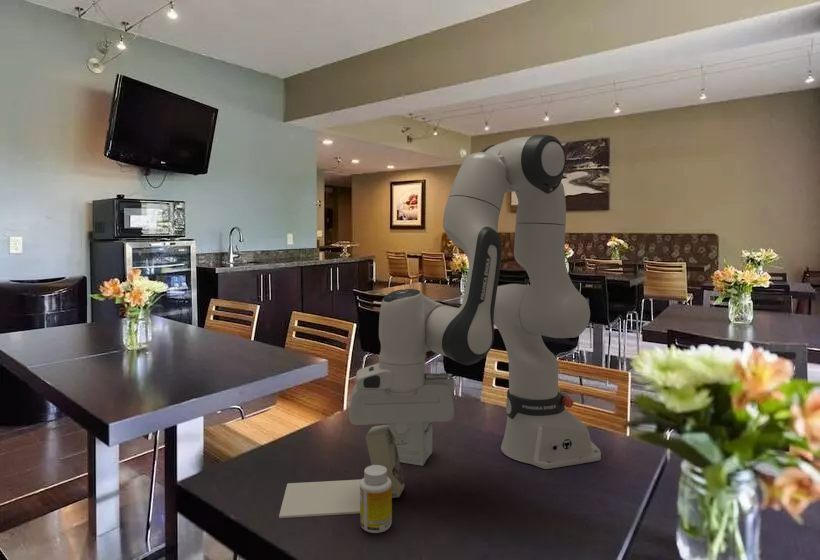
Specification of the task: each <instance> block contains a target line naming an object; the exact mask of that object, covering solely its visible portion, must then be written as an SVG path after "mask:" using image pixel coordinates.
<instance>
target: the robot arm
mask: <svg viewBox="0 0 820 560" xmlns="http://www.w3.org/2000/svg"><path fill="white" fill-rule="evenodd" d="M566 166H567V154H566V151H565V148H564V146H563V144H562V143H561V141H560V140H559V139H558V138H557V137H556V136H554V135H549V134H534V135H531V136H522V137H516V138H515V137H514V138H511V139H509V140H507V141H503V142H500V143H498V144H491V145H488V146H487V147H485V148H483V149H482V150H481V151H478V152H473V153H471V154H469V155H468V156H467V157H465V159H464V160H463V162H462V163H461V165H460V167H459V170H458V171H457V174H456V176H455V178H454V180H453V183H452V186H451V189H450V191H449V194H448V197H447V201H446V204H445V207H444V212H443V219H442V227H443V230H444V233H445V234H446V236H447V237H448V239H449V240H450V241H451V242H452V244H454V245H455V246H457V247H458V248H459V249H461V250H462V251H463V252H464V253H465V256H466V257H467V260H468V270H467V276H466V282H465V289H464V294H463V300H462V303H461V305H460V306H459V307H455V306H451V305H447V304H443V303H440V302H438V301H436V300H433V299H431V298H429V297H427V296H426V295H424V294H423V292H422V291H420V289H415V288H405V289H401V288H400V289H397V290H393V291H391V292H388V293H387V294H386V295H384V297H383V298H382V300H381V304H380V309H379V315H378V317H379V318H378V319H379V320H378V339H379V342H380V352H379V354H378V355H379V357H378V363H375V364H371V365H369V366H366V367H362V368H359V369H358V370H357V371H356V373H355V375H356V376H355V384H354V386H353V387H352V390H351V395H350V403H349V415H348V416H349V417H348V418H349V419H348V420H349V422H350V423H351V424H352V425H354V426H363V425H364V426H365V425H367V426H368V425H388V426H389V430H390V431H391V433H392V434H393V436H394V445H407V444H409V436H411V434H412V432H413V431H414V429H415V423H421V422H433V423H442V422H443V423H445V422H451V421H452V420H453V419H454V417H455V406H454V399H453V394H454V393H455V390H456V381H455V379H454V377H453V376H451V375H449V374H448V373H447V372H442V373H441V372H440V373H436V372H435V373H434V372H432V373H429V372H427V373H426V358H425V357H426V356H425V355H426V353H427V352H433V353H435V354H438V355H441V356H444V357H447V358H449V359H451V360H452V361H455V362H456V363H458V364H460V365H464V366H470V365H471V366H472V365H474V364H477V363H478V362H480V361H481V360H482V359H484V358H485V357H486V356H487V355H488V354H489V352H490V350H491V349H492V347H493V344H494V340H495V339H494V338H495V327H496V329H497V330H498V331H499V334H500V336H501V338H502V340H503V343H504V346H505V349H506V353H507V359H508V389H507V391H506V402H505V410H506V415H507V419H506V425H505V431H504V436H503V439H502V443H501V445H500V449H501V452H502V453H503V454H504V455H505V456H507V457H508V458H510V459H513V460H514V461H517V462H520V463H525V464H530V465H532V466H535V467H537V468H541V469H543V470H549V469H550V470H551V469H556V468H562V467H567V466H568V467H570V466H574V465H580V464H585V463H593V462H598V461H601V460H602V452H601V450H600V448H599V447H598V446H597V445H596V444H595V443H594V442H592V440H591V436H590V432H589V429H588V428H587V426H586V425H585V423H583V421H582V420H580V419H579V418H578V417H577V416H576V415H574V414H573V413H572V412H570V411H569V410H568V409H567V408H569V409H570V408H572V407H573V406H574V400H573V399H571V398H570V397H569V396H565V395H564V394H562V393H561V392H559V362H558V359H557V357H556V356H555V354H554V353H553V352H551V350H550V349H549V348H548V347H547V345H546V344H545V342H544V340H543V338H542V336H543V337H549V338H552V339H553V338H554V339H570V338H577V337H579V336H581V335H582V334H583V333H584V331H586V329H587V327H588V326H589V323H590V319H591V309H590V305H589V302H588V301H587V298H586V297H585V296H584V295H583V294H581V292H580V291H579V290H578V289H577V288H576V287H575V284H573V282H572V279H571V277H570V275H569V272H568V268H567V264H566V258H565V257H566V253H565V252H566V250H565V248H566V247H565V246H566V228H567V227H566V225H567V205H566V204H567V203H566V194H565V188H564V185H563V183H562V180H563V177H564V175H565V170H566ZM506 192H507V193H508V192H510V193H511V192H512V193H513V192H514V193H515V195H516V198H517V207H516V214H515V215H516V216H515V227H514V229H515V230H514V241H513V242H514V245H513V246H514V247H513V257H514V260H515V261H516V263H518V265H520V266H521V267H522V268H523V269H524V270H525V271H526V273H527V275H528V276H527V277H528V278H529V279H528V280H529V283H530V284H522V283H508V284H501V285H499V280H500V279H499V278H500V272H501V265H502V264H501V263H502V255H503V242H502V238H501V236H500V234H499V229H498V227H499V219H500V215H501V212H502V211H501V210H502V206H503V203H504V197H505V194H506ZM396 423H407V425H408V428H407V430H406V432H405V433H397V432H396V430H395V428H396Z"/></svg>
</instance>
